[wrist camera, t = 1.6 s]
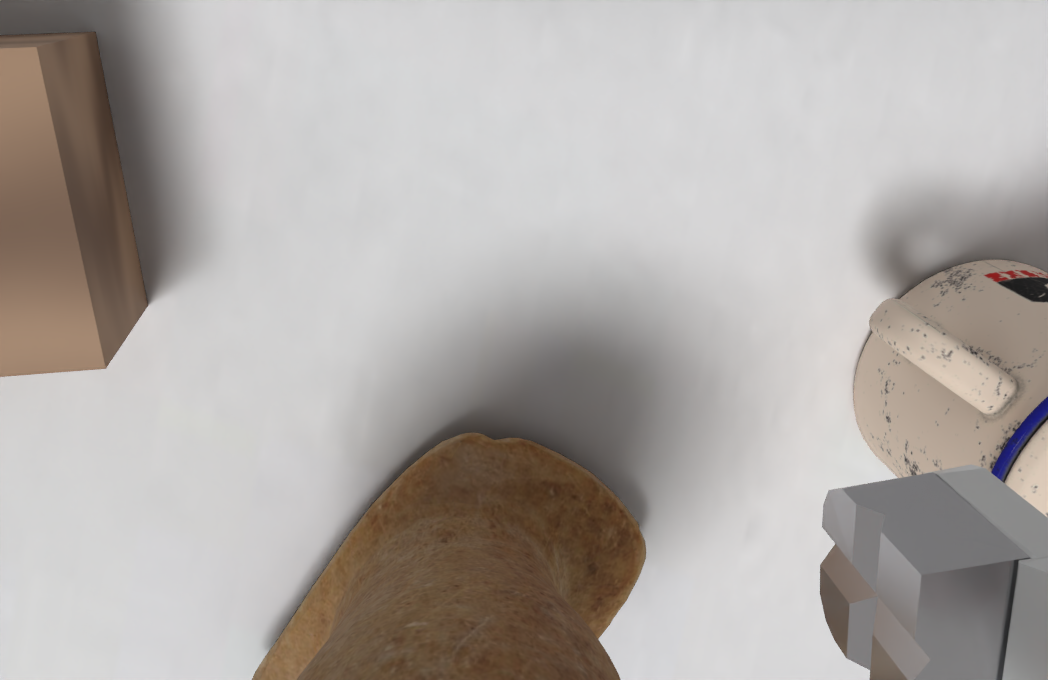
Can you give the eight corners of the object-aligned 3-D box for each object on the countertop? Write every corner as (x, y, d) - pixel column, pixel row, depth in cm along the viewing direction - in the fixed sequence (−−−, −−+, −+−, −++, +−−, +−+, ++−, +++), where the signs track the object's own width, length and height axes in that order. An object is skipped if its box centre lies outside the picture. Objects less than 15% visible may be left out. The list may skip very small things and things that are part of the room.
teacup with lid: (1128, 331, 34) (1468, 501, 24) (960, 517, 36) (1202, 750, 26) (904, 151, 30) (1189, 257, 20) (731, 371, 32) (903, 574, 22)
